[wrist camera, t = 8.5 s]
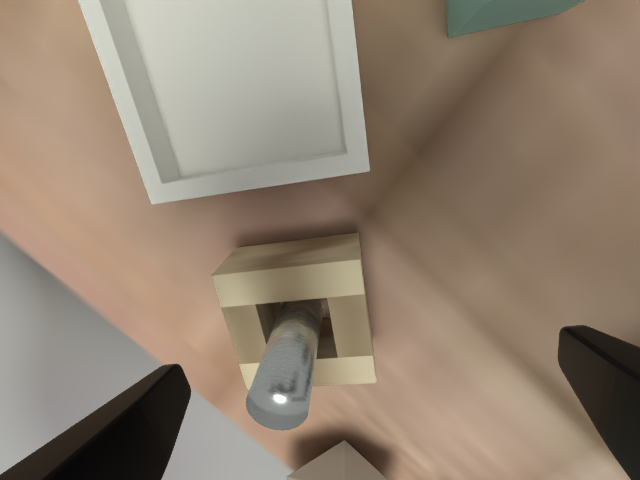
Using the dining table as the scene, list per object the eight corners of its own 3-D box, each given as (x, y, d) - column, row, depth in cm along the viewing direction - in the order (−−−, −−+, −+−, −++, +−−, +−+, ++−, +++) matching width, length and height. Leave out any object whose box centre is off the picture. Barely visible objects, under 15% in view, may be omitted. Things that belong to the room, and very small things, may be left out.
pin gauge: (328, 308, 21) (313, 429, 13) (291, 311, 22) (254, 431, 13) (321, 274, 20) (301, 381, 12) (284, 279, 21) (239, 384, 12)
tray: (337, -111, 14) (334, -159, 11) (367, 164, 18) (370, 171, 15) (97, -42, 15) (52, -71, 13) (175, 194, 19) (151, 204, 17)
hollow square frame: (358, 232, 19) (360, 259, 15) (372, 338, 22) (376, 382, 18) (236, 247, 20) (211, 275, 17) (264, 346, 23) (247, 389, 19)
